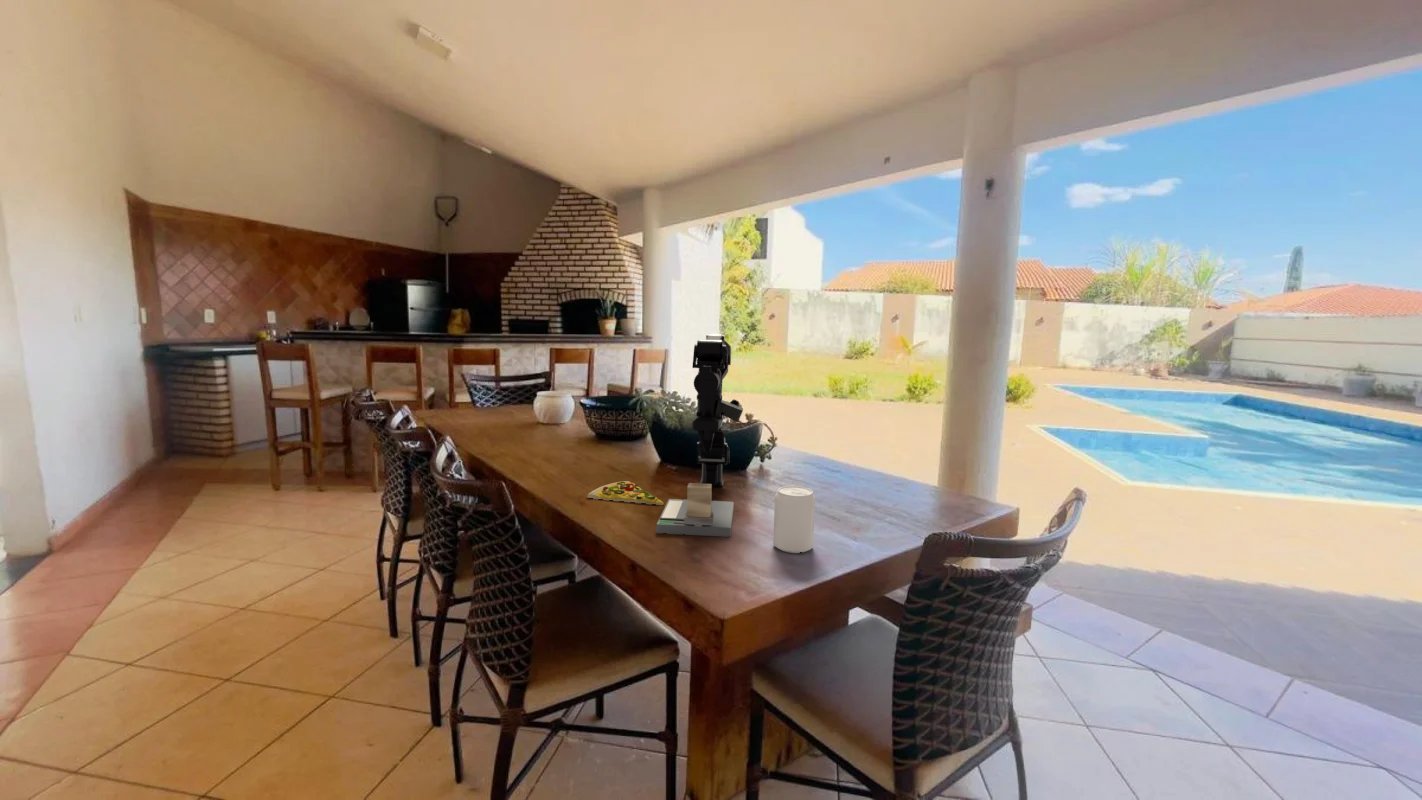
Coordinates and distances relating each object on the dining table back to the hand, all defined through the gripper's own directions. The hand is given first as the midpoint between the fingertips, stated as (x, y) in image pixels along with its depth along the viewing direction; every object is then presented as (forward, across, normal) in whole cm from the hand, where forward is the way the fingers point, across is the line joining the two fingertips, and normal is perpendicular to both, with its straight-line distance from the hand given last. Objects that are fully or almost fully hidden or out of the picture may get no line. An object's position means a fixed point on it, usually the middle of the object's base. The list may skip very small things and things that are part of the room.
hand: (707, 452), depth 144 cm
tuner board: (+13, -14, +1) cm, 19 cm away
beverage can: (+13, -27, -20) cm, 36 cm away
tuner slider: (+11, -21, +3) cm, 24 cm away
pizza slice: (+14, +1, +19) cm, 24 cm away
